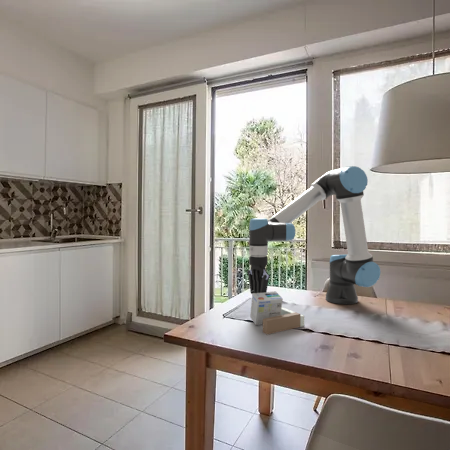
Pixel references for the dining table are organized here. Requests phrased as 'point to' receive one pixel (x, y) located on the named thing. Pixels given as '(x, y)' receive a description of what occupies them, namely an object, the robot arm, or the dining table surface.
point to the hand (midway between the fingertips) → (257, 312)
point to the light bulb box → (265, 306)
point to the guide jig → (283, 321)
